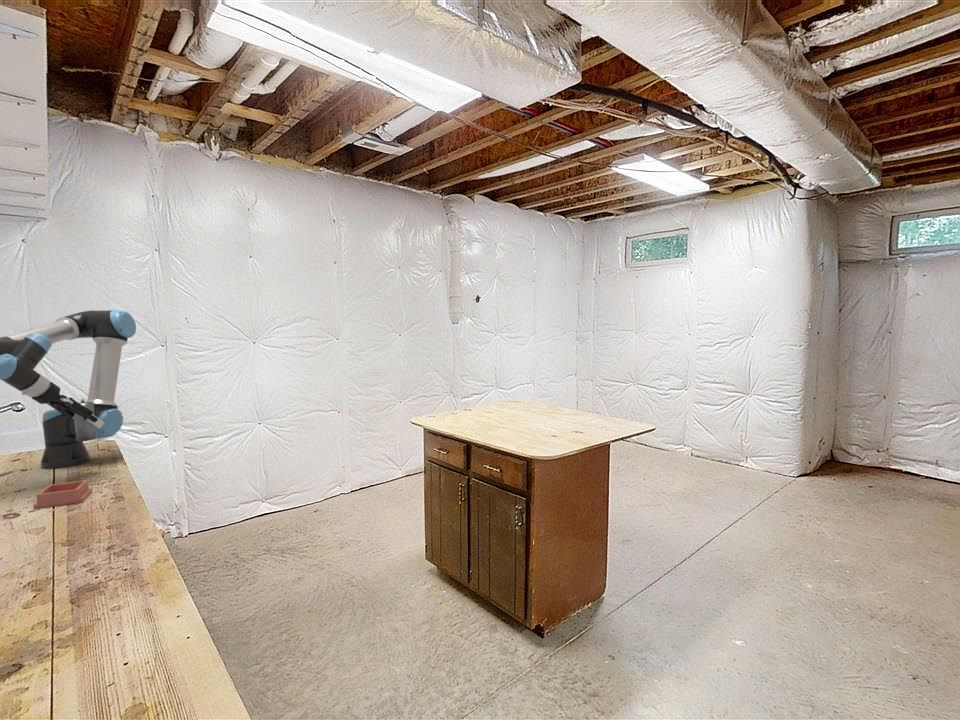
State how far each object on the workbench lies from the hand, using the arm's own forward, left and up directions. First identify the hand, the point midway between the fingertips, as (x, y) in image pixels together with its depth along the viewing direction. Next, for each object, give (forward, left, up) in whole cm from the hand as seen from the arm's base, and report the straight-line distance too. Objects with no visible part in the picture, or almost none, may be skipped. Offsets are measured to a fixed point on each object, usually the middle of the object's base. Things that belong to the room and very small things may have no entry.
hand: (96, 424), depth 181 cm
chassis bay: (+33, -1, -18) cm, 38 cm away
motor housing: (+2, -3, -5) cm, 6 cm away
